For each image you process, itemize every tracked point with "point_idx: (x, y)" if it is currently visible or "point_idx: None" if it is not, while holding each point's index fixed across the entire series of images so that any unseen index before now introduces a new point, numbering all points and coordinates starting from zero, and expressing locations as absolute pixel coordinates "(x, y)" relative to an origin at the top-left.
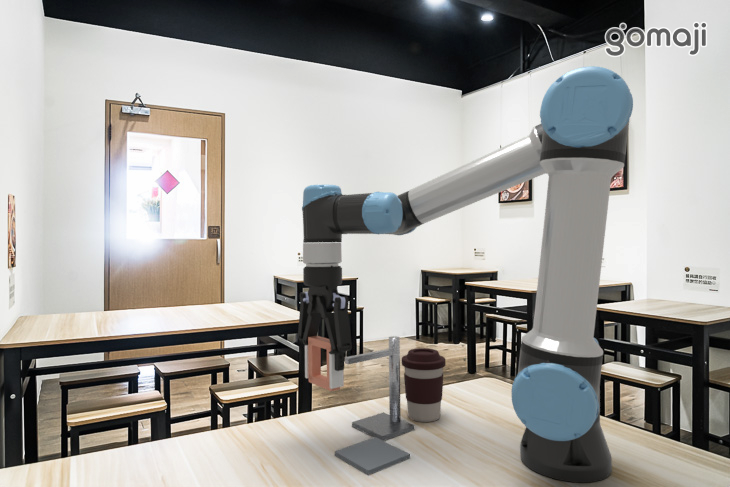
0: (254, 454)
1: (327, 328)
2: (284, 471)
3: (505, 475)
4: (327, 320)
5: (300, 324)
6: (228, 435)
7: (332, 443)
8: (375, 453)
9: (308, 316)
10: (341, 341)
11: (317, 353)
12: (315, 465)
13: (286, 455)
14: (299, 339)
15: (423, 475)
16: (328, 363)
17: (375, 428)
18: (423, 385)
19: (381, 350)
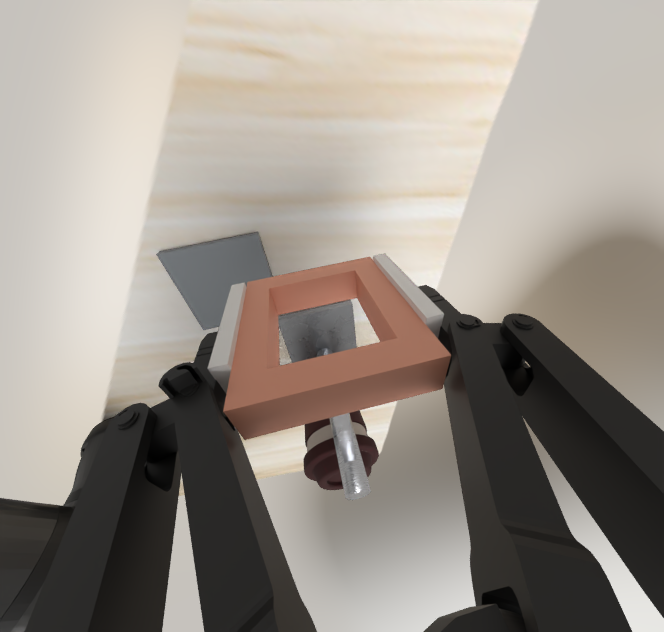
0: (341, 62)
1: (233, 502)
2: (222, 98)
3: (123, 391)
4: (222, 600)
5: (582, 384)
6: (480, 38)
7: (307, 248)
8: (222, 290)
9: (547, 498)
10: (95, 469)
11: (380, 331)
12: (229, 180)
13: (299, 141)
14: (510, 315)
15: (142, 319)
16: (255, 330)
17: (309, 323)
18: (310, 423)
19: (352, 450)
